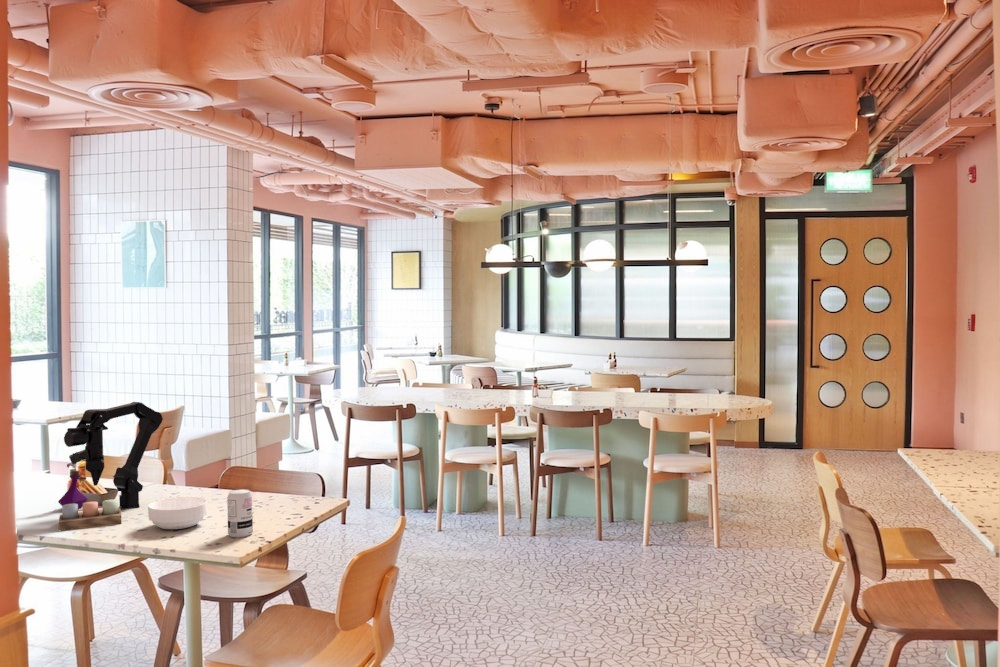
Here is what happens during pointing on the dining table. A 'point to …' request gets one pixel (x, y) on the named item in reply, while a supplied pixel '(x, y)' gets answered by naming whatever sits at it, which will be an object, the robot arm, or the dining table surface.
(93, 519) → the wooden compartment tray
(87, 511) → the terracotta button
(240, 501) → the supplement can
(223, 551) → the dining table surface
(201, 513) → the bowl
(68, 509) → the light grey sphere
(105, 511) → the pale green rounded cube
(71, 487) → the perfume bottle
